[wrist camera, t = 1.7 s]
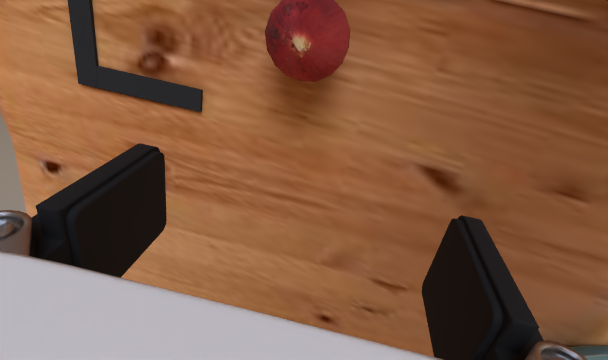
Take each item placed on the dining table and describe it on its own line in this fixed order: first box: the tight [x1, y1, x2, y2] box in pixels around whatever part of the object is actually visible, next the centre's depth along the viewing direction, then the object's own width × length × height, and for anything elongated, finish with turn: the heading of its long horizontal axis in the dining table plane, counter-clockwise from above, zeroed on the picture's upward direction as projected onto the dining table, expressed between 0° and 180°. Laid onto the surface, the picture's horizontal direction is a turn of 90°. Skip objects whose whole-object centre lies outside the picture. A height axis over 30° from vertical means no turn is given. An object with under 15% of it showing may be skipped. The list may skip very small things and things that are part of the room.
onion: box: [265, 0, 350, 82], centre depth 24 cm, size 6×6×8 cm
